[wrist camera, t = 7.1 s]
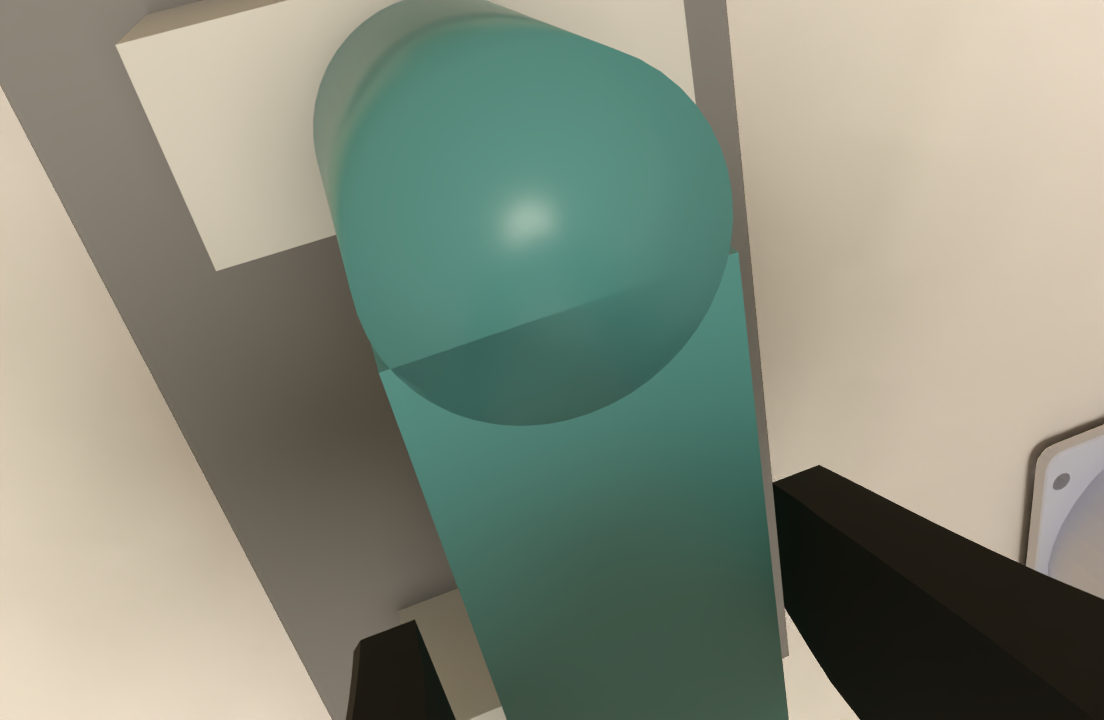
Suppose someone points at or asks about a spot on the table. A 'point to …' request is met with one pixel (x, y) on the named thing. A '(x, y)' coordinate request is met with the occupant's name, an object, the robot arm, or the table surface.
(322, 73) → the display stand
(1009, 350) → the table surface
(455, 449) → the teal dome-capped pillar
